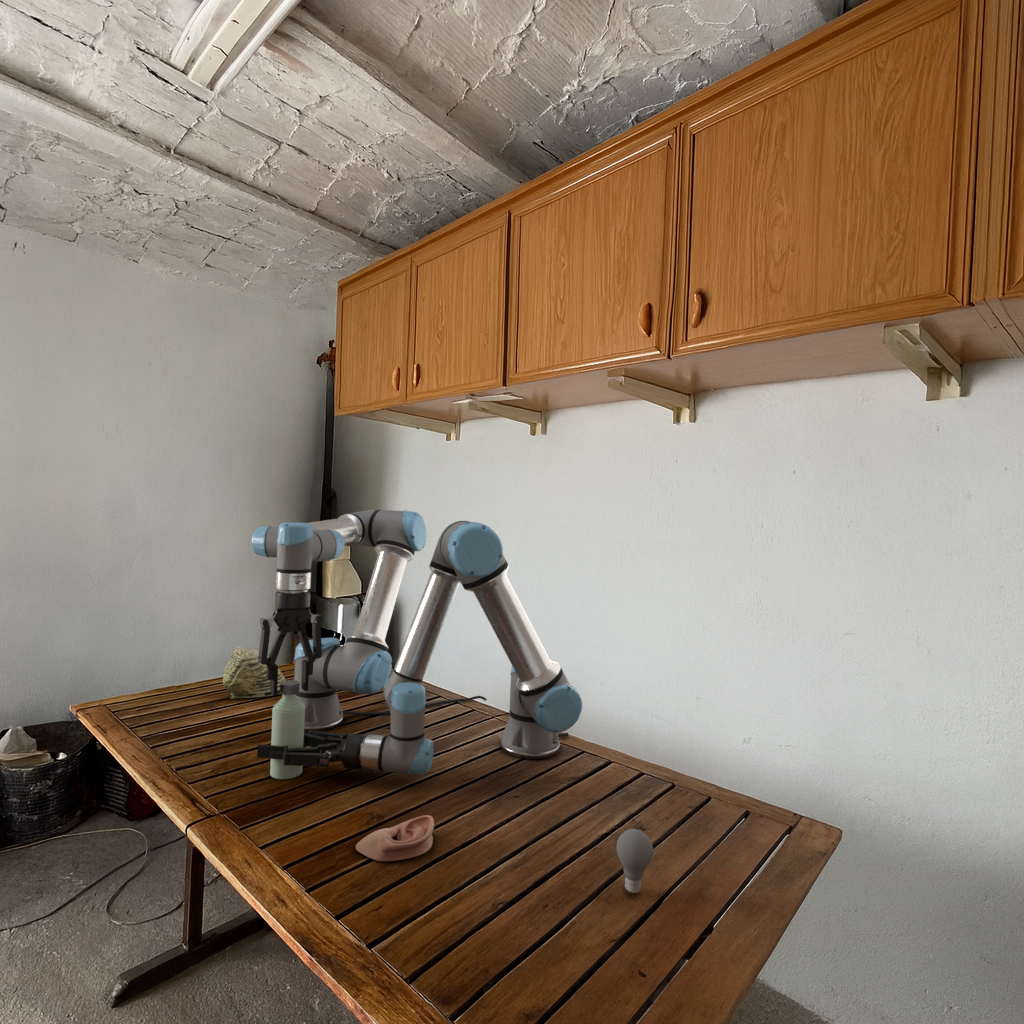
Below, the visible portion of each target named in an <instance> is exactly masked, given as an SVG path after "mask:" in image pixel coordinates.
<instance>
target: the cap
mask: <svg viewBox="0 0 1024 1024" xmlns="http://www.w3.org/2000/svg"><path fill="white" fill-rule="evenodd" d="M298 692H299V681H296V680H294V679H288V680H286V681H283V682H281V683H280V694H279V695H282V696H283V695H293V694H297V693H298Z"/></svg>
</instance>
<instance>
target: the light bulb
mask: <svg viewBox="0 0 1024 1024" xmlns="http://www.w3.org/2000/svg"><path fill="white" fill-rule="evenodd" d="M615 849H616V854H617V857H618V859H619V861H620V863H621V865H622V867H623V873H624V874H623V875H624V876H625V878H624V888H625V890H627V891H628V892H630V893H634V894H635V893H639V892H640V891H641V889H642V887H641V886H642V879H643V877H644V875H645V871H646V868H647V867H648V866H649V864H650V863H651V861H652V859H653V855H654V847H653V843H652V841H651V838H649V836H648V835H647V834H646V833H645V832H643V831H642V830H641V829H636V828H629V829H627V830H625V831H623V832H622V833H621V834H620V835H619V837H618V839H617V841H616V847H615Z"/></svg>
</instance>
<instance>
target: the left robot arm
mask: <svg viewBox="0 0 1024 1024" xmlns="http://www.w3.org/2000/svg"><path fill="white" fill-rule="evenodd" d="M426 543H427V528H426V523H425V520H424V518H423V516H422V515H421V514H420V513H418V512H416V511H409V510H406V509H405V510H392V509H391V510H390V509H377V508H375V509H374V508H373V509H367V510H360V511H356V512H350V513H344V514H341V515H340V516H338V518H332V519H326V520H319V521H311V522H281V523H280V524H279V525H278V526H272V525H269V526H259V527H258V528H256V529H255V530H254V532H253V533H252V536H251V549H252V551H253V553H255V555H257V556H260V557H266V558H276V574H275V576H276V577H275V589H276V592H275V595H274V597H275V599H274V611H273V614H272V616H269V617H266V618H265V617H261V618H260V619H259V623H260V628H261V633H260V639H259V647H258V648H259V656H258V661H259V662H260V663H261V664H265V665H267V673H266V677H267V679H268V680H271V685H270V693H271V694H273V695H272V696H278V694H277V684H278V669H279V666H278V664H276V662H277V659H278V656H279V655H280V654H279V653H280V650H281V648H282V645H283V644H284V643H283V642H284V640H285V638H286V636H287V634H288V633H292V632H296V633H297V635H298V637H299V641H300V642H299V643H298V644H297V645H296V647H295V652H294V653H295V654H294V658H293V660H294V672H293V680H296V681H299V692H298V693H297V694H296V697H297V698H298V699H299V700H300V701H301V702H302V703H304V706H305V717H304V733H309V731H310V730H313V731H321V732H326V731H329V730H332V729H335V728H337V727H339V726H340V725H342V723H343V722H344V715H356V716H381V715H391V714H390V711H389V710H386V711H371V712H370V711H369V712H368V711H367V712H366V711H365V712H361V711H352V710H351V711H349V710H343V709H342V706H341V702H340V699H339V695H338V691H344V692H351V693H356V694H358V695H363V694H364V695H373V694H376V693H378V692H380V690H382V689H384V684H385V682H386V680H387V679H388V678H389V677H390V676H391V674H392V668H393V665H392V663H393V658H392V656H391V654H390V652H388V651H389V646H388V644H387V643H386V638H387V634H388V631H389V628H390V623H391V619H392V617H393V612H394V610H395V606H396V603H397V598H398V594H399V591H400V588H401V584H402V581H403V577H404V573H405V569H406V567H407V563H409V562H410V561H412V560H413V559H414V556H415V552H420V551H422V550H423V549H424V548H425V546H426ZM353 546H359V547H368V548H374V551H375V553H376V554H377V557H376V560H375V563H374V568H373V570H372V574H371V577H370V581H369V584H368V588H367V591H366V594H365V597H364V600H363V605H362V607H361V611H360V613H359V617H358V620H357V624H356V627H355V630H354V632H353V634H350V635H349V636H347V638H346V641H345V644H344V645H340V644H341V641H340V639H339V638H337V637H322V627H321V626H322V624H323V620H324V617H323V616H322V615H321V614H319V613H316V614H315V613H312V612H311V592H310V591H309V590H310V589H311V587H312V586H311V583H312V563H316V562H330V561H333V560H336V559H338V558H339V557H341V556H342V554H343V553H344V550H345V547H353ZM309 621H310V623H311V630H312V631H311V633H312V639H309V636H308V631H307V628H306V625H307V624H308V622H309ZM273 623H275V624H276V626H277V629H276V631H275V636H274V638H273V641H272V645H271V647H270V650H269V646H270V645H269V644H270V636H271V628H272V626H273ZM268 652H269V653H268ZM267 655H268V658H267ZM477 699H481V700H483V701H484V702H485V701H488V699H487V698H486V697H484V696H483V695H476V696H471V697H465V698H455V699H446V700H440V701H439V700H438V701H434V702H430V703H426V704H425V708H427V707H431V706H437V705H443V704H449V703H457V702H458V703H459V702H468V701H472V700H473V701H474V700H477Z"/></svg>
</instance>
